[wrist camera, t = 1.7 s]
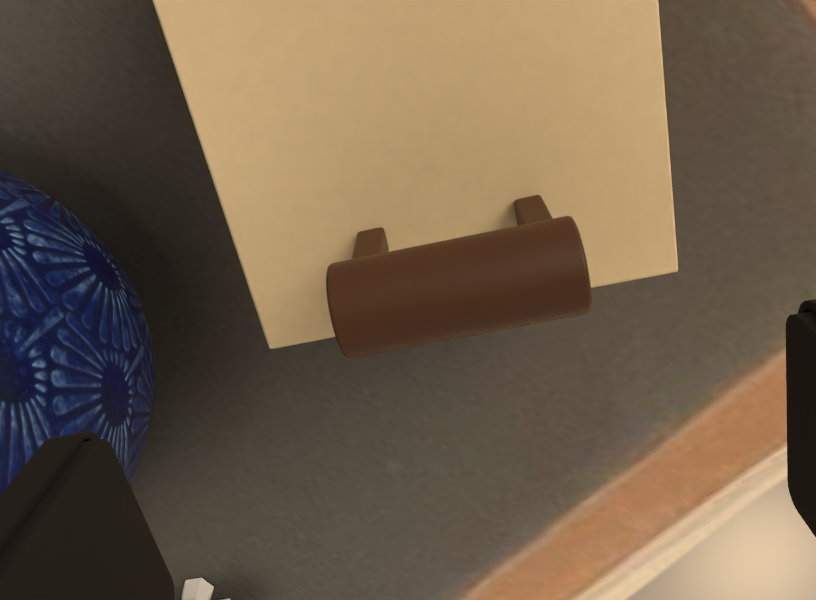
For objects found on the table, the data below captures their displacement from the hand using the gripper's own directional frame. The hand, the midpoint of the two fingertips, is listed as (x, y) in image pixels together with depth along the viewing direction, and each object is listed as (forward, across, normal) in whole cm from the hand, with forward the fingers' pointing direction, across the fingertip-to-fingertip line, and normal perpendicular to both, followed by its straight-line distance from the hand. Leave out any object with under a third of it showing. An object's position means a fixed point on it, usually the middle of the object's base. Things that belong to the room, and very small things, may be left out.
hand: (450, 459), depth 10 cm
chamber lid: (+10, 0, -4) cm, 11 cm away
